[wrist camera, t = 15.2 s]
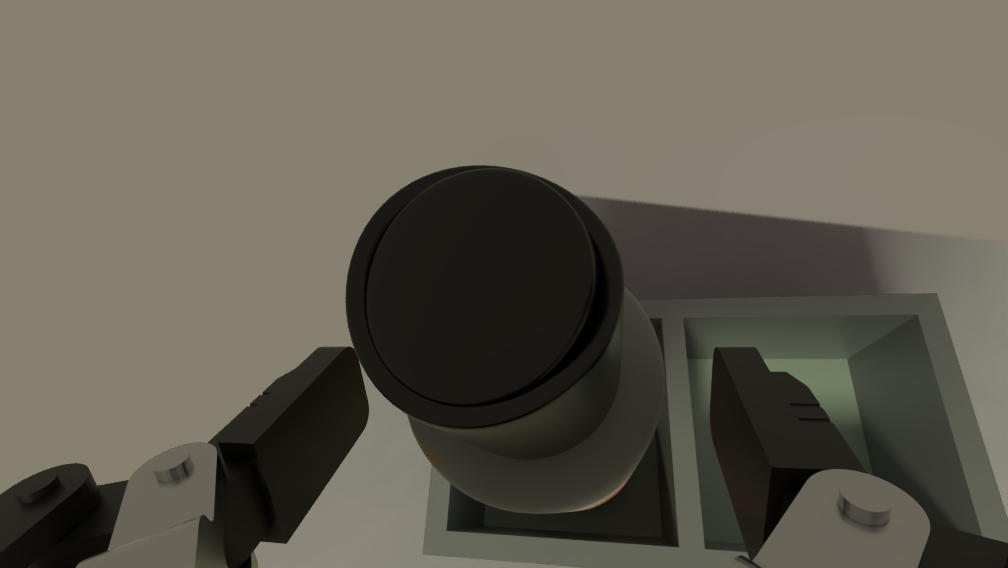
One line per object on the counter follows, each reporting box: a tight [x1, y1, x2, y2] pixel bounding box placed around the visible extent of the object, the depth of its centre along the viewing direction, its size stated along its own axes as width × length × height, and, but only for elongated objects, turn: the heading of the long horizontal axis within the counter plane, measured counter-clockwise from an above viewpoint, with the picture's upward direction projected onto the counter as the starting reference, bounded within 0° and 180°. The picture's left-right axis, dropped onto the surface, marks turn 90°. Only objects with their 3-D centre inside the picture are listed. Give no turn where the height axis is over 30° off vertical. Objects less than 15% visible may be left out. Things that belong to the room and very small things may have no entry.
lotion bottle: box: [346, 165, 665, 514], centre depth 15 cm, size 6×6×20 cm
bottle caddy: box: [423, 293, 1008, 568], centre depth 21 cm, size 18×10×7 cm, turn 87°
